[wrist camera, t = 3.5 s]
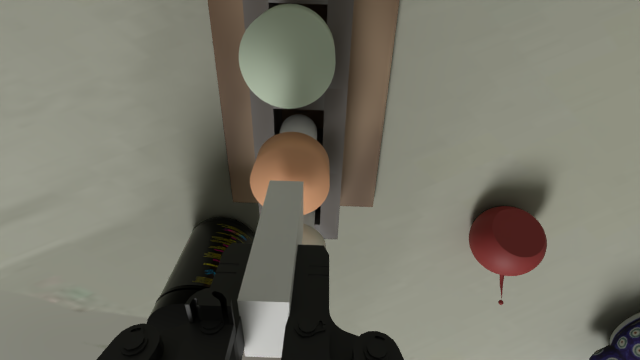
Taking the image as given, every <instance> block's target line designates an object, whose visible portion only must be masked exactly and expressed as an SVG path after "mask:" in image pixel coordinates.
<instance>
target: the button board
mask: <svg viewBox="0 0 640 360" xmlns="http://www.w3.org/2000/svg"><path fill="white" fill-rule="evenodd" d="M281 4H298V5H302V6H305V7H307V8H309V9H311V10H313V11H314V12H316V13H317V14H318V15H319V16H320V17H321V18H322V19H323V20H324V21H325V23H326V24H327V26H328V27H329V29H330V31H331V34H332V36H333V40H334V46H335V61H336V64H335V72H334V76H333V79H332V81H331V83H330V85H329V87H328V88H327V90H326V91H325V93H324V94H323V95H322V96H321V97H320V98H318V99H317V100H316V101H314V102H312V103H311V104H309V105H306V106H303V107H300V108H292V109H287V108H280V107H276V106H273V105H270V104H268V103H266V102H264V101H263V100H261V99H260V98H259V97H258V96H256V95H255V94H254V93H253V92H252V91H251V89H250V88H249V87H248V85H247V84H246V82H245V80H244V78H243V76H242V73H241V70H240V65H239V47H240V43H241V40H242V37H243V35H244V33H245V31H246V29H247V28H248V27H249V25H250V24H251V23H252V22H253V21H254V20H255V19H257V18H258V17H259V16H260V15H261V14H263V13H264V12H265V11H267V10H268V9H270V8H272V7H274V6H277V5H281ZM208 6H209V14H210V22H211V30H212V38H213V46H214V54H215V62H216V70H217V78H218V86H219V94H220V102H221V110H222V118H223V126H224V134H225V142H226V150H227V158H228V166H229V174H230V182H231V190H232V198H233V202H241V203H259V202H258V201H257V200H256V198H255V197H254V195H253V193H252V190H251V186H250V175H251V172H252V169H253V166H254V163H255V161H256V158H257V155H258V152H259V150H260V148H261V147H262V145H263V144H264V143H265V142H266V141H267V140H268V139H269V138H271V137H272V136H274V135H277V134H279V133H280V129H281V126H282V123H283V122H284V120H285V119H286V118H288V117H289V116H292V115H296V114H301V115H305V116H307V117H309V118H310V119H312V120H313V122H314V123H315V125H316V127H317V141H318V142H319V143H320V144H321V145H322V146H323V147H324V149H325V150H326V152H327V155H328V158H329V166H330V187H329V192H328V195H327V197H326V199H325V201H324V202H323V203H322V205H321V206H319V207H318V208H317V209H316V210H315V223H314V229H316V230H317V231H318V232H319V233H320V234H321V235H322V237H323V239H337V238H338V224H339V209H340V206H360V207H373V201H374V193H375V185H376V177H377V170H378V162H379V154H380V146H381V139H382V131H383V123H384V116H385V108H386V100H387V92H388V85H389V77H390V69H391V62H392V54H393V46H394V38H395V31H396V23H397V15H398V7H399V0H208ZM262 208H263V206H262V205H261V204H260V203H259V215H261V211H262Z"/></svg>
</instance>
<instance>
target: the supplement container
mask: <svg viewBox="0 0 640 360" xmlns="http://www.w3.org/2000/svg"><path fill="white" fill-rule="evenodd" d="M254 237H255V236H254V234H253V233H252V231H251V230H250V229H249V228H248V227H247V226H245V225H244V224H242V223H241V222H239V221H236V220H233V219H230V218H222V217H219V218H211V219H208V220H205V221H203V222H202V223H200V224H199V225H197V226H196V227H195V229H194V230H193V231H192V233H191V235H190V237H189V239H188V241H187V243H186V245H185V247H184V249H183V251H182V253H181V255H180V257H179V259H178V261H177V263H176V265H175V267H174V269H173V271H172V273H171V275H170V277H169V279H168V281H167V283H166V285H165V287H164V289H163V291H162V293H161V295H160V297H159V298H158V299H157V301H156V304H155V306H154V308H153V310H152V312H151V314H150V316H149V318H148V321H147V324H151V325H152V326H154V327H156V328H157V330H158V331H163V330H167V329H171V328H175V327H178V326H181V325H184V324H186V323H188V322H189V319H188V315H187V311H186V307H185V304H186V302H187V301H188V299H189V298H190V297H191V296H192V295H193V294H195V293H196V292H198V291H200V290H203V289H205V288H210V286H211V284H212V281H213V278H214V275H215V274H216V270H217V267H218V265H219V262H220V259H221V256H222V253H223V252H224V251H225V250H226V248H227V247H228V246H229V245H230V244H231V243H248V244H253V241H254Z"/></svg>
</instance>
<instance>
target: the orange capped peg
mask: <svg viewBox="0 0 640 360" xmlns="http://www.w3.org/2000/svg"><path fill="white" fill-rule="evenodd" d="M270 180H273V181H302V182H303V215H305V214H308V213H310V212H312V211H314V210H316V209H317V208H318V207H319V206H321V205H322V203H323V202H324V201H325V199H326V197H327V195H328V192H329V187H330V166H329V158H328V155H327V152H326V150H325V149H324V147H323V146H322V145H321V144H320V143H319V142H318V141H317V127H316V125H315V123H314V122H313V120H312V119H310V118H309V117H307V116H305V115H301V114H296V115H292V116H289V117H288V118H286V119H285V120H284V122H283V123H282V126H281V129H280V133H279V134H277V135H274V136H272V137H271V138H269V139H268V140H267V141H266V142H265V143H264V144H263V145H262V147H261V148H260V150H259V152H258V155H257V158H256V161H255V163H254V166H253V169H252V172H251V175H250V186H251V190H252V193H253V195H254V197H255V198H256V200H257V201H258V202H259V203H260V204H261V205H262V206H263V204H264V200H265V196H266V193H267V189H268V185H269V182H270Z"/></svg>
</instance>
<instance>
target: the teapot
mask: <svg viewBox="0 0 640 360" xmlns="http://www.w3.org/2000/svg"><path fill="white" fill-rule="evenodd" d="M589 360H640V312H639V313H637V314H635V315H633V316H631V317H630V318H628V319H626V320H625V321H624V322H622V323H621V324H620V325H619V326H618V327H617V328H616V329H615V330H614V331H613V333H612V335H611V337H610V345H609V346H606V347H604V348H602V349H599V350H597V351H596V352H595V353H594V354H593V355H592V356H591V357H590V358H589Z"/></svg>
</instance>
